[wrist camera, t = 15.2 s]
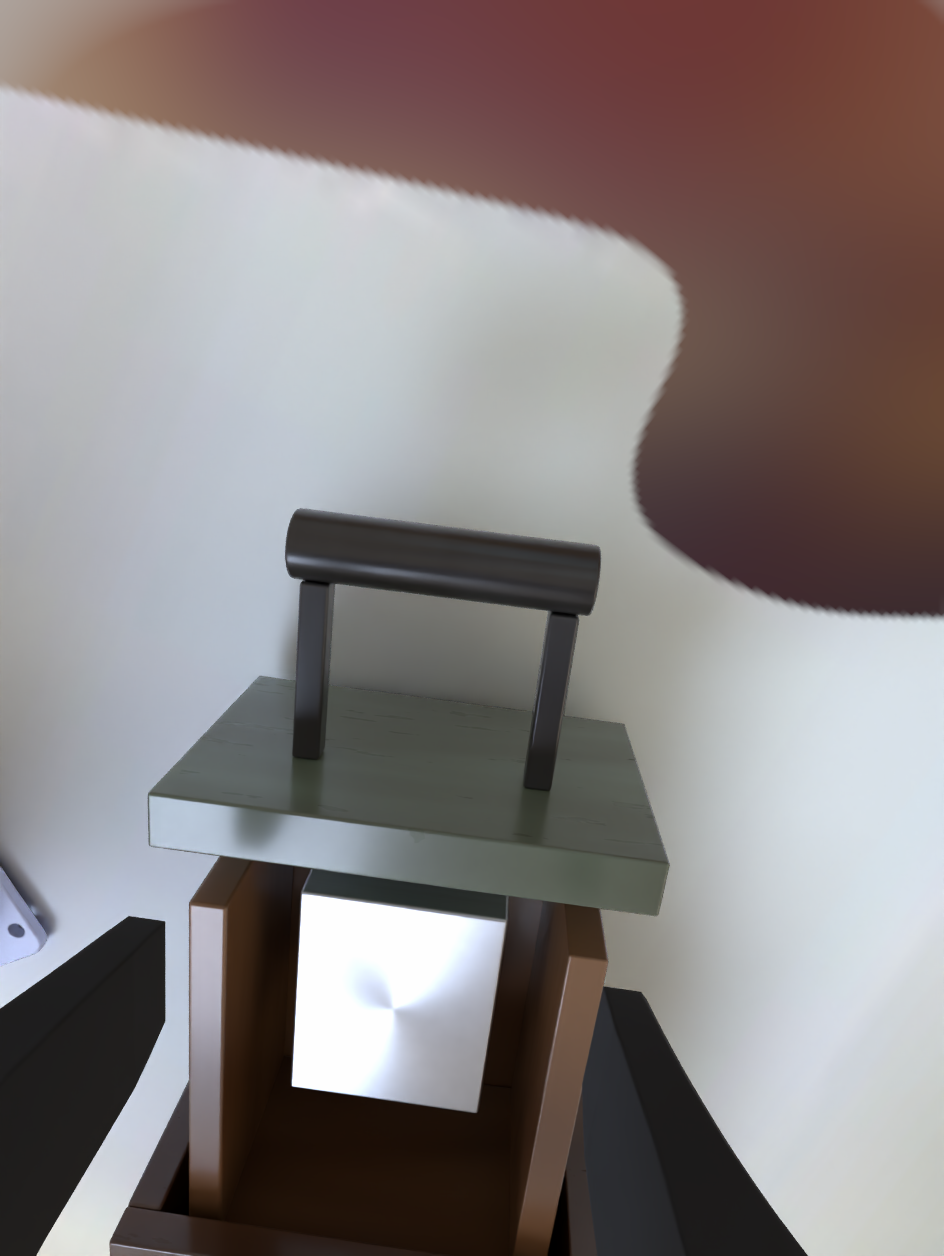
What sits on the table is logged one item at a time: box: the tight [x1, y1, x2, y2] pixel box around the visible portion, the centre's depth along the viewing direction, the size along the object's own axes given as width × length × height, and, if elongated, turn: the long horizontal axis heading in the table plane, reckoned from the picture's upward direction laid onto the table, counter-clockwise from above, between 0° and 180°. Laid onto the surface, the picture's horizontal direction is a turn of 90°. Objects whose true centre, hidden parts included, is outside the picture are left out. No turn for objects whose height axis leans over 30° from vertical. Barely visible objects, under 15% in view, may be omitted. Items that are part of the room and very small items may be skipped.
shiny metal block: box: [290, 869, 509, 1113], centre depth 18 cm, size 6×4×4 cm
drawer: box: [148, 508, 670, 1256], centre depth 18 cm, size 18×10×6 cm, turn 174°
